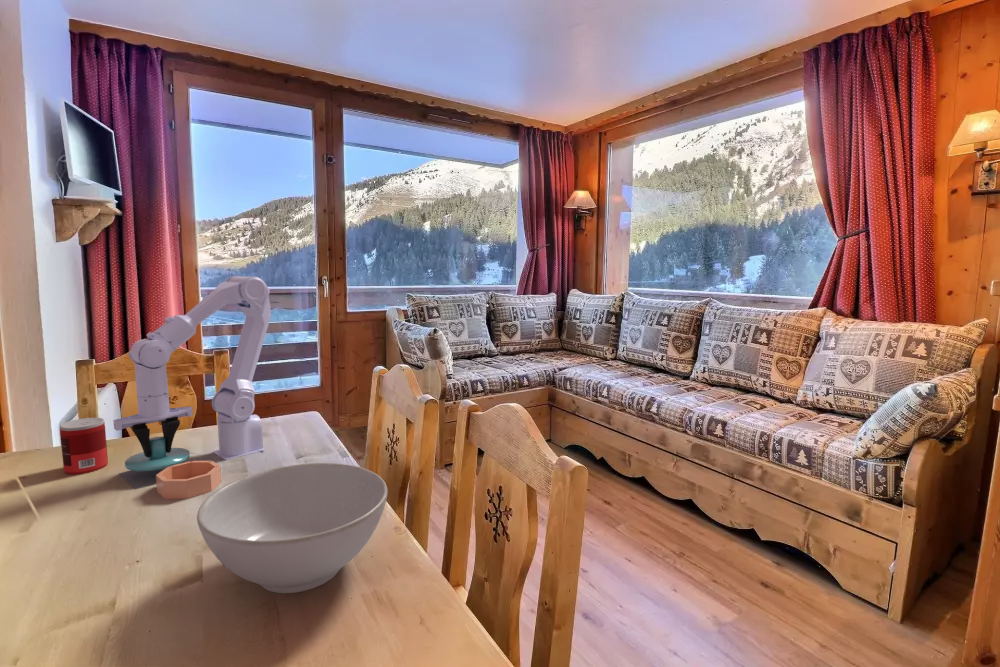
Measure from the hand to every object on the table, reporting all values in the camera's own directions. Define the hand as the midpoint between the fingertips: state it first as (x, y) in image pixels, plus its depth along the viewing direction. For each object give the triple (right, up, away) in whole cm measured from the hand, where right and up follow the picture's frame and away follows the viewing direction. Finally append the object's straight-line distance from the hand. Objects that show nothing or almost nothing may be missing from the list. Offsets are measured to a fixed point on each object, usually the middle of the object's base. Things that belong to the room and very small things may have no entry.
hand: (157, 453), depth 115 cm
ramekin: (+11, -6, -6) cm, 14 cm away
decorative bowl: (+45, -10, -34) cm, 57 cm away
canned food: (-18, -4, +3) cm, 19 cm away
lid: (0, -2, 0) cm, 2 cm away
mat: (0, -5, +1) cm, 5 cm away
